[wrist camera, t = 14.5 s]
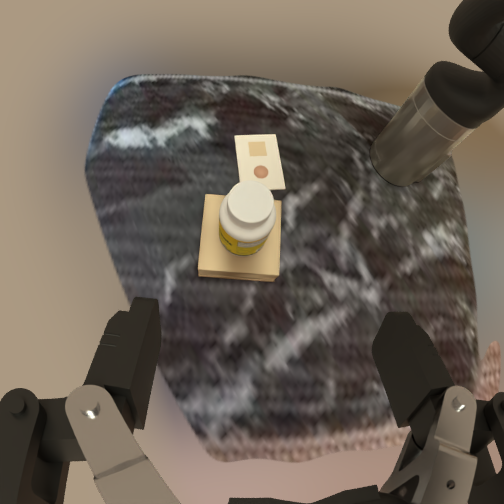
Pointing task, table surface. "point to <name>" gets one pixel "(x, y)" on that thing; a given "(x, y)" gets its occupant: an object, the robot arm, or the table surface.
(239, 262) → the beech block
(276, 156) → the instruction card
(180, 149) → the table surface
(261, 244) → the supplement bottle
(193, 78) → the table surface
